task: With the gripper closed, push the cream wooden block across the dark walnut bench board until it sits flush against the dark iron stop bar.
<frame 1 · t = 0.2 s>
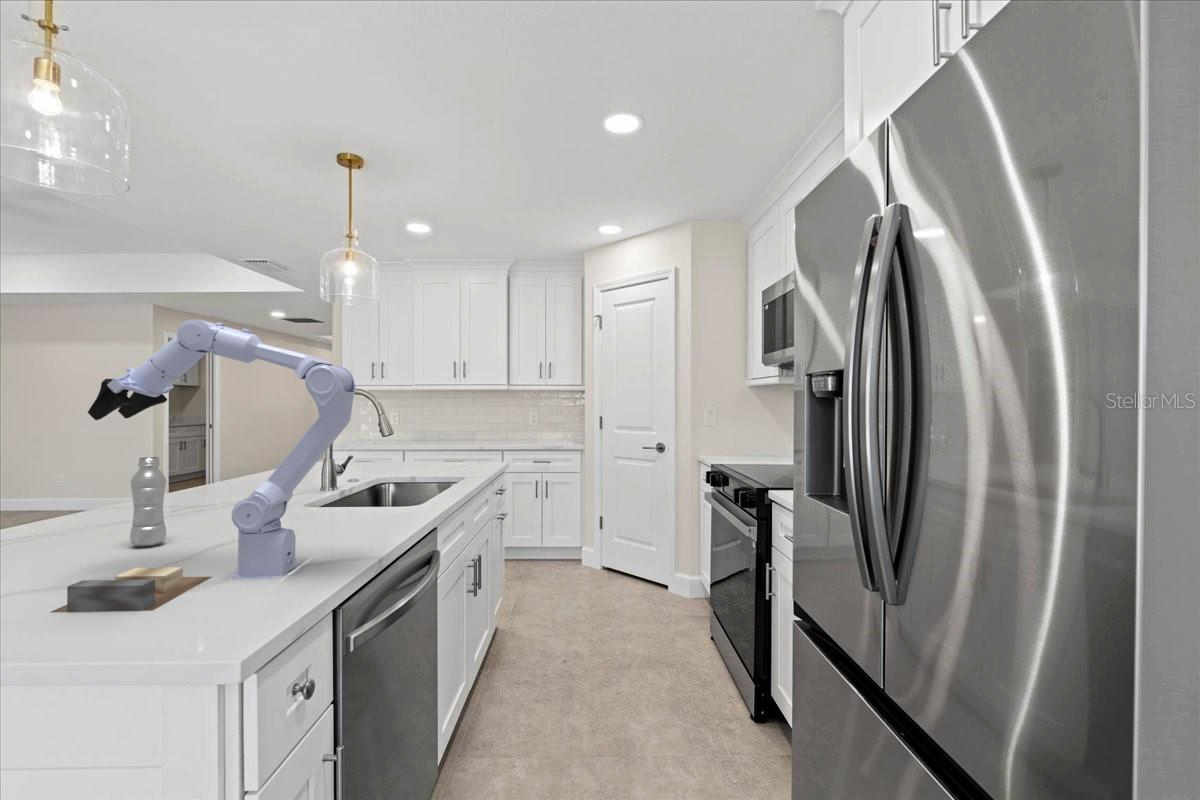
hand: (108, 415, 109), 31 cm above the countertop, tool tilted 45°, fingers open, 7 cm apart
cream wooden block: (149, 588, 102), point 1 cm above the countertop, touching bench board
plastic bottle: (148, 546, 131), on the countertop
bench board: (138, 596, 99), on the countertop
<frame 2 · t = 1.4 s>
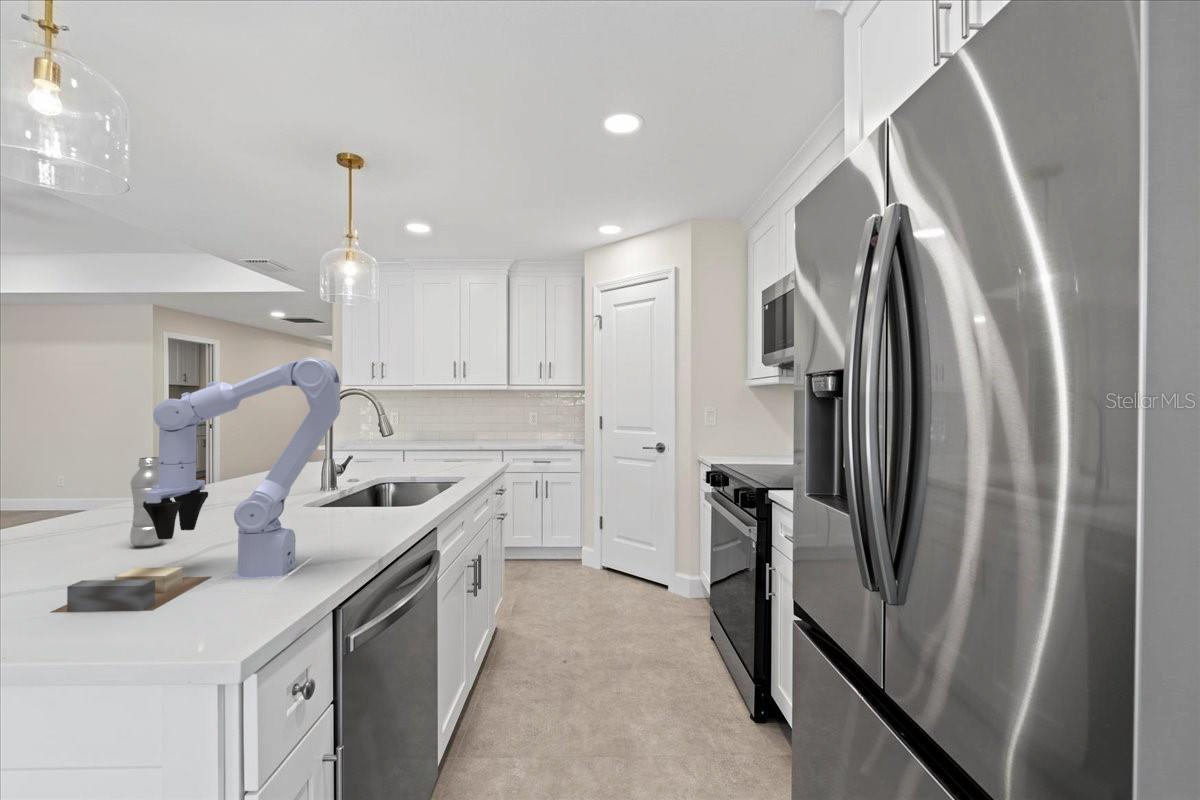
hand: (176, 534, 109), 8 cm above the countertop, tool pointing down, fingers open, 6 cm apart
nothing on the countertop moved.
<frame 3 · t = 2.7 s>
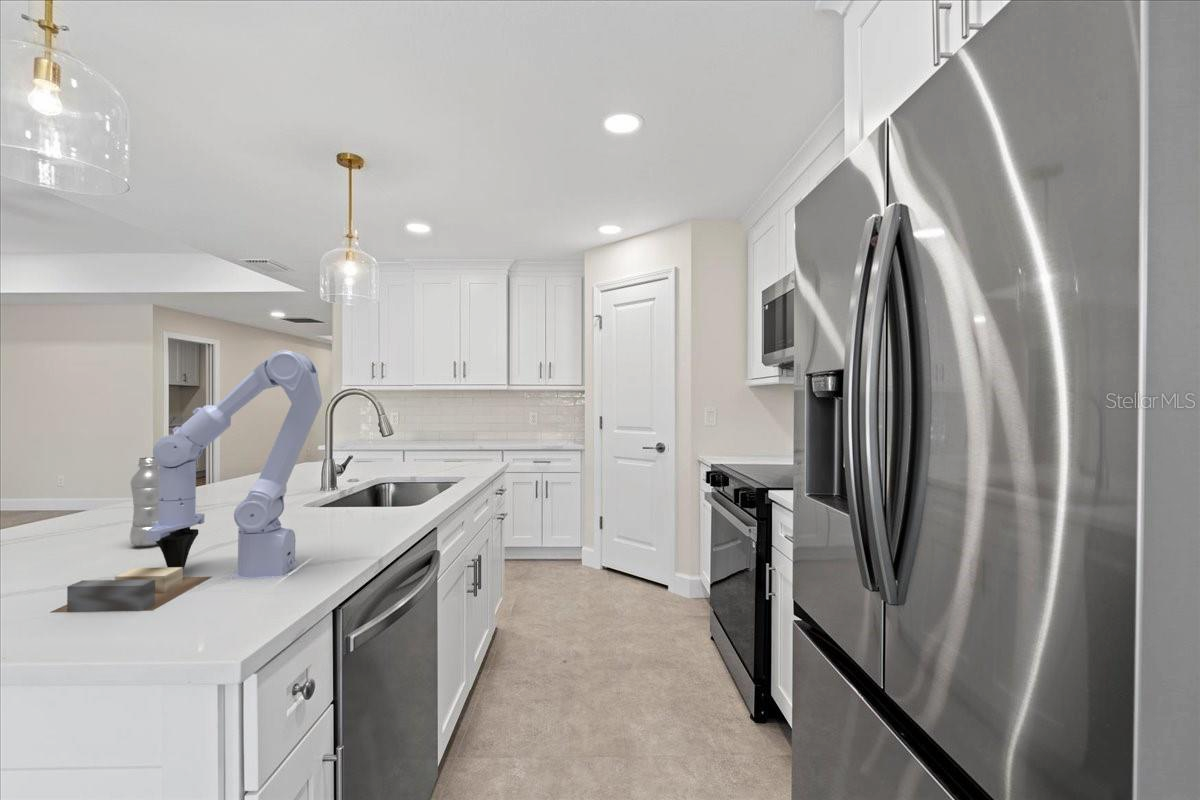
hand: (176, 569, 109), 2 cm above the countertop, tool pointing down, fingers closed
nothing on the countertop moved.
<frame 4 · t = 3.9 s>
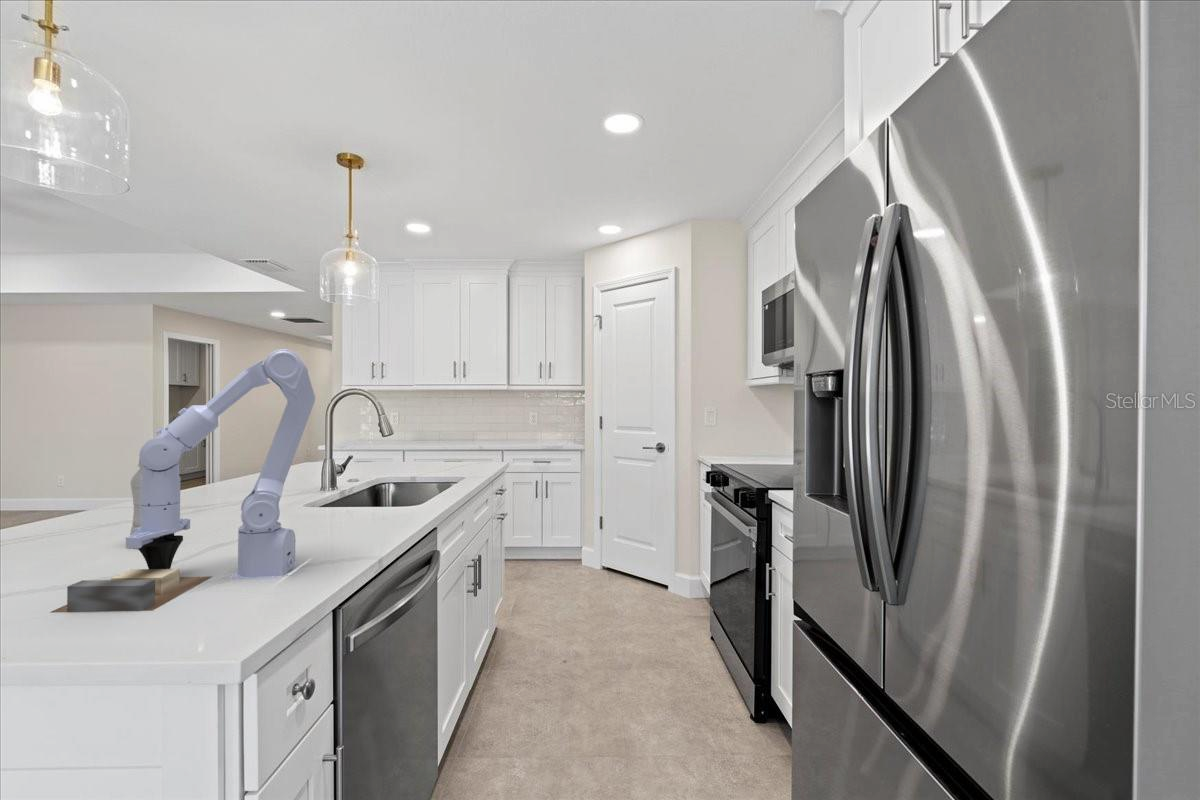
hand: (159, 578, 104), 2 cm above the countertop, tool pointing down, fingers closed
cream wooden block: (146, 590, 101), point 1 cm above the countertop, touching bench board, gripper
everything else where it was.
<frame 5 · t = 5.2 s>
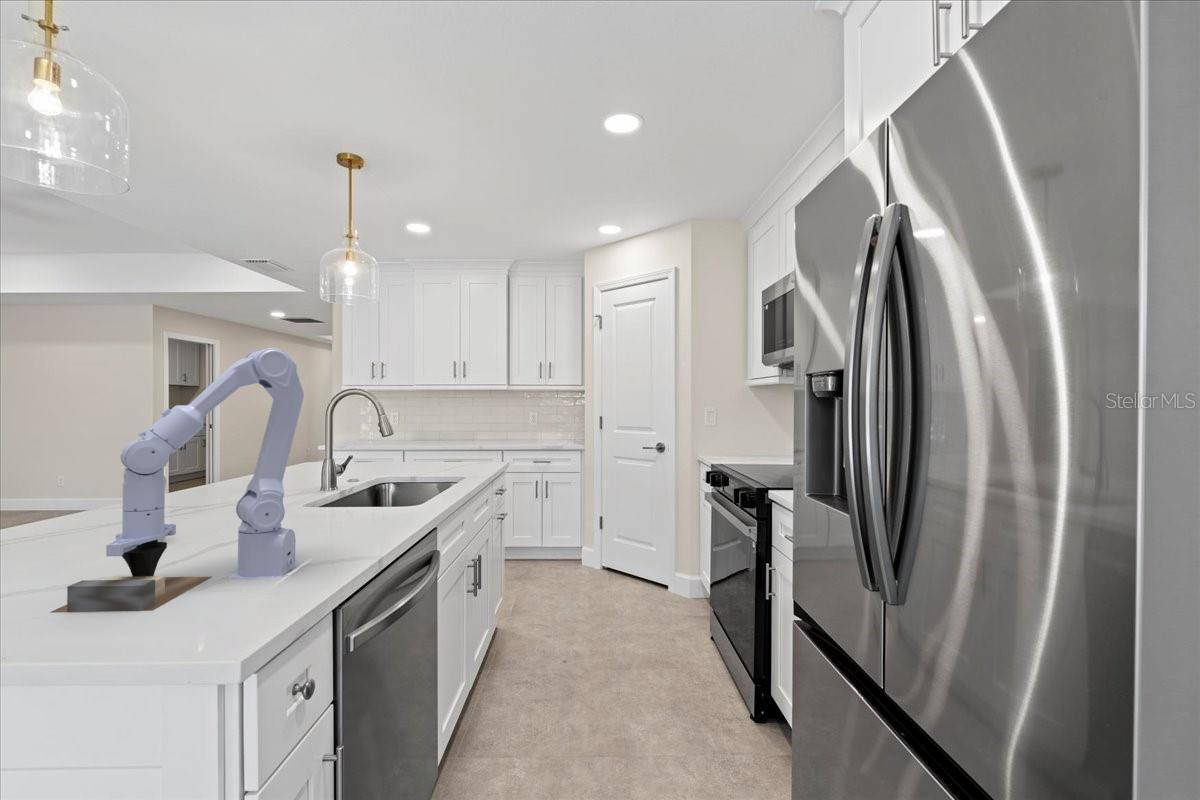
hand: (143, 586, 100), 2 cm above the countertop, tool pointing down, fingers closed
cream wooden block: (129, 598, 97), point 1 cm above the countertop, touching bench board, gripper
everything else where it was.
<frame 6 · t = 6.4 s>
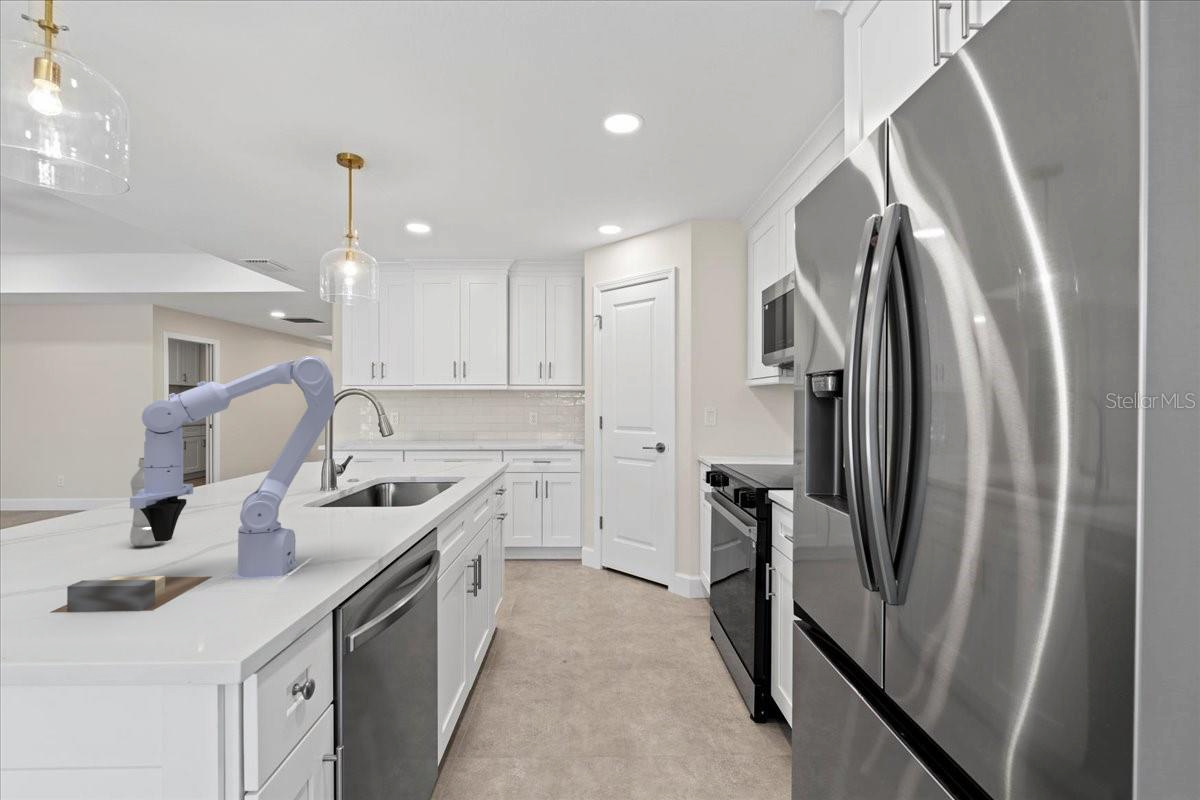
hand: (163, 540, 105), 8 cm above the countertop, tool pointing down, fingers closed
cream wooden block: (129, 598, 97), point 1 cm above the countertop, touching bench board
everything else where it was.
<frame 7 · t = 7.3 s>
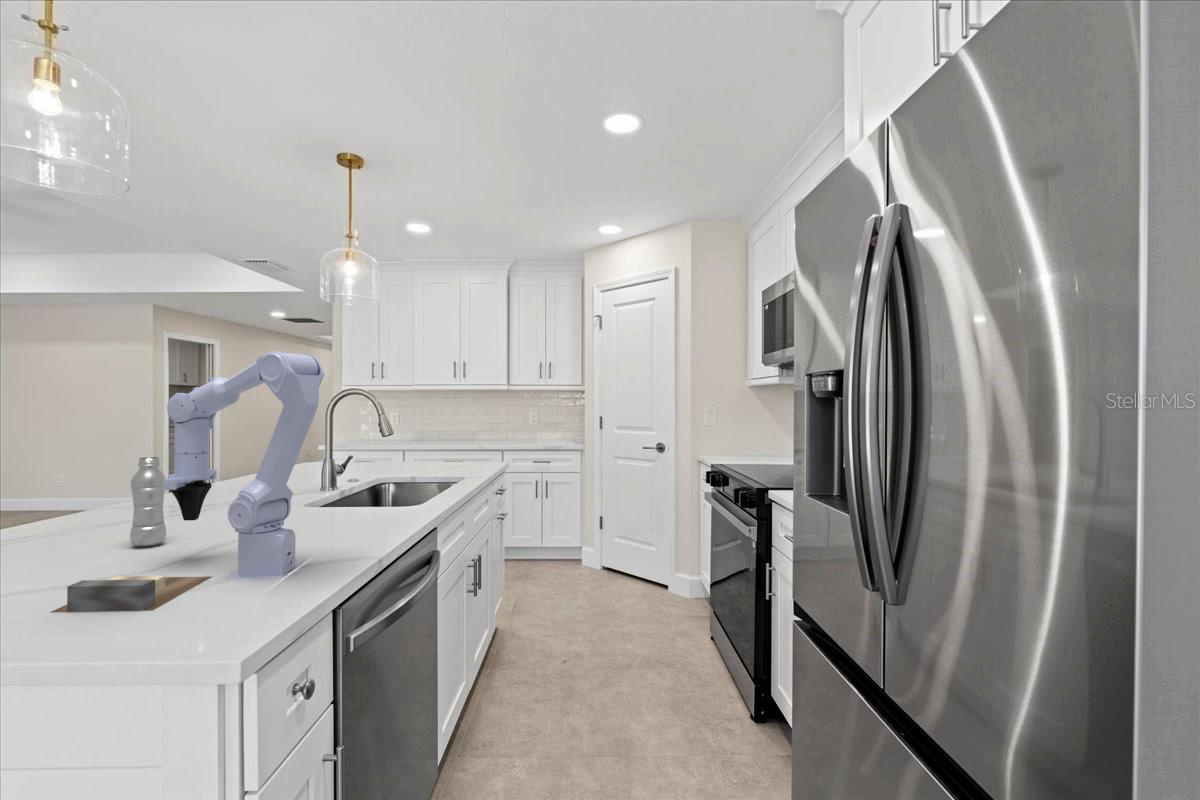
hand: (191, 519, 117), 9 cm above the countertop, tool pointing down, fingers closed
nothing on the countertop moved.
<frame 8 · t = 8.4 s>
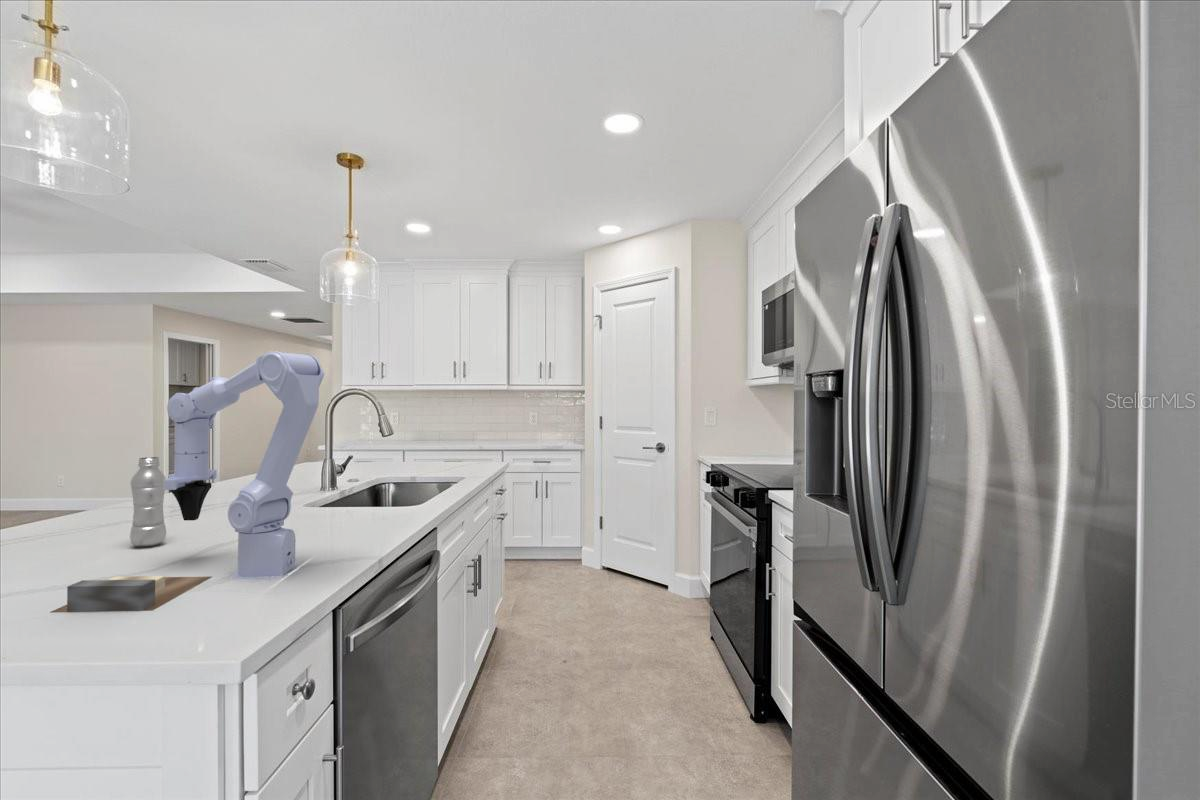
hand: (191, 519, 117), 9 cm above the countertop, tool pointing down, fingers closed
nothing on the countertop moved.
at the end: cream wooden block 0.2 cm from the target spot, point 0.6 cm above the countertop; cream wooden block tilted 0°; cream wooden block moved 5.0 cm from its start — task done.
